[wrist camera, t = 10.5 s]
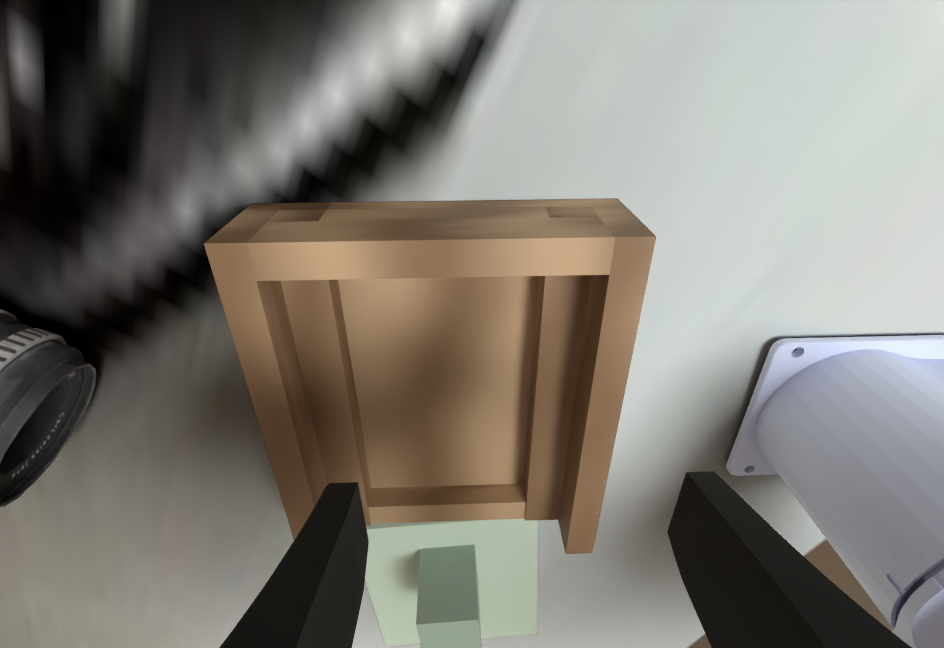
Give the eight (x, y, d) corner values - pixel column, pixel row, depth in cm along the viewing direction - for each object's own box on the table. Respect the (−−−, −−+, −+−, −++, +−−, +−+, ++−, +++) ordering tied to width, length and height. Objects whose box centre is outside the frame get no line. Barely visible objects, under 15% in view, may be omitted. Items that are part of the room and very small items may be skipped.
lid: (535, 500, 26) (551, 590, 22) (535, 618, 33) (548, 707, 28) (352, 514, 26) (334, 607, 22) (387, 630, 33) (378, 720, 28)
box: (617, 198, 17) (656, 236, 14) (573, 485, 25) (592, 553, 22) (251, 203, 17) (204, 243, 14) (321, 493, 25) (301, 562, 21)
